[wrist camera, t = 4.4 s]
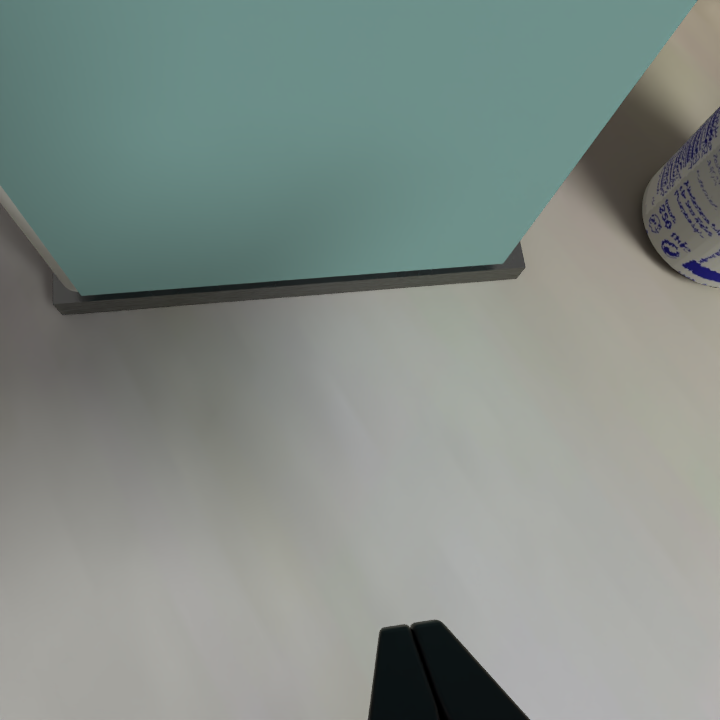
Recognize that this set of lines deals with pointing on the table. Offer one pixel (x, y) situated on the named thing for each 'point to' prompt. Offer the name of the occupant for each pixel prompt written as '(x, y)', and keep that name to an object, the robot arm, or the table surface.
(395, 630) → the robot arm
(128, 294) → the grey square frame stand
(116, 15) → the teal square panel
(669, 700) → the table surface
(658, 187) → the beverage can
